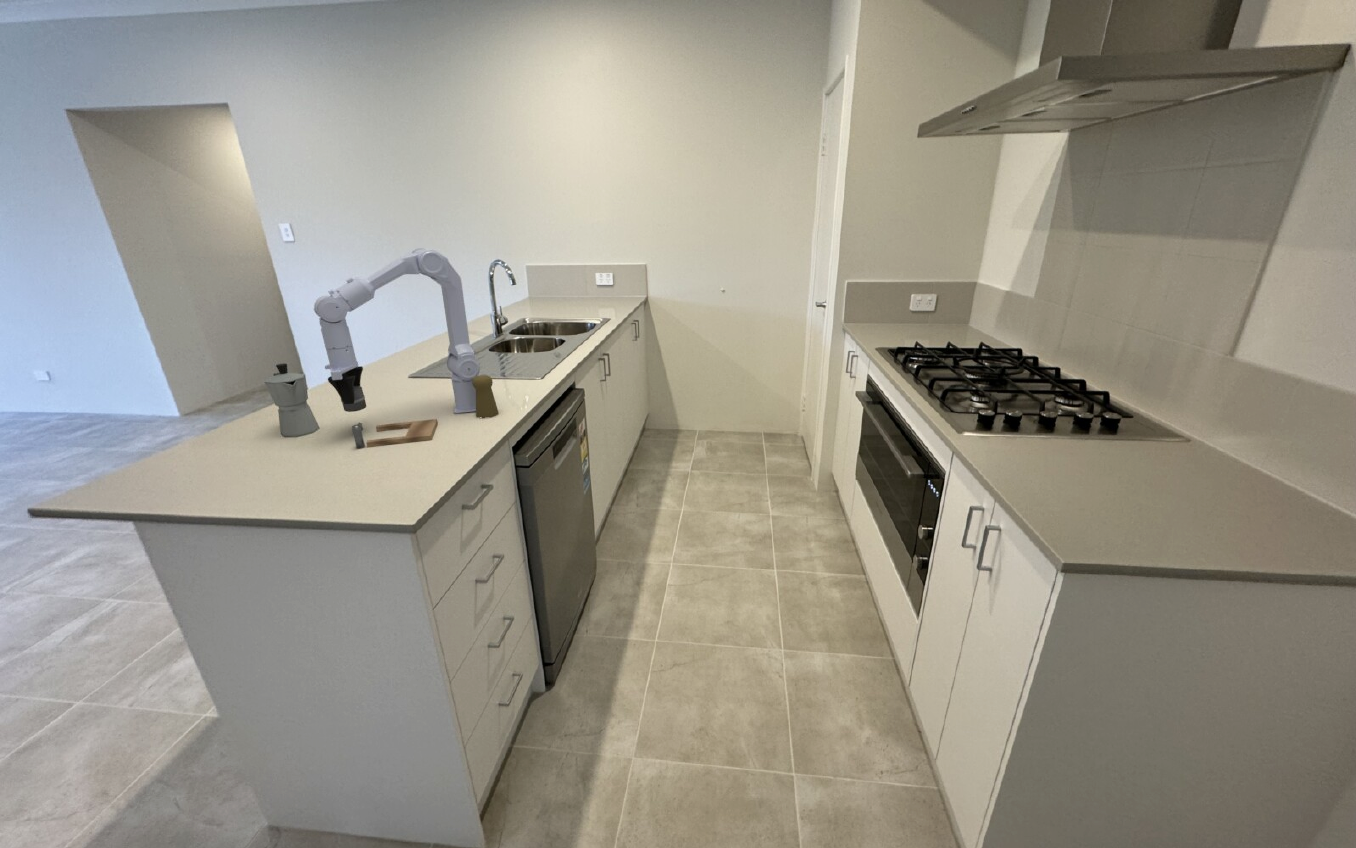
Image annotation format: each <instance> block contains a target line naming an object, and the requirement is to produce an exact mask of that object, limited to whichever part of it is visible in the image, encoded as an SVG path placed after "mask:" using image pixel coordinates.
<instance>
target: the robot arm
mask: <svg viewBox="0 0 1356 848" xmlns="http://www.w3.org/2000/svg"><path fill="white" fill-rule="evenodd" d="M420 274H421V275H424V276H427V277H428V278H430V279H431V280H433V282H436V283H437V284H438V285H439V286H440V287H441V292H442V300H443V306H444V307H443V308H444V314H445V320H446V321H445V322H446V327H447V335H448V342H449V345H448V350H447V352H448V356H447V359H446V367H447V369H448V370H449V372H451V373H452V374H451V385H452V390H453V396H454V401H455V407H454V410H453V413H454V414H463V413H470V412H471V413H473V412H476V389H475V388H474V387H473V384H472V381H473V378H474V377H476V376H480V375H479V374H480V371H481V366H480V363H479V361H478V360H477V358H476V354H475V351H474V349H473V348H472V346H471V344H470V335H469V328H468V321H467V314H466V313H467V312H466V308H465V307H466V305H465V297H464V292H463V283H462V279H461V276H460V275H459V273H458V272H457V271H456V269H455V268H454V267H453V265H452V264H451V263H450V262H449V259H448V257H447V256H445V255H443V254H442V253H441V252H438V251H437V250H434V249H425V248H421V247H420V248H416V249H413V250H412V251H411V252H408V253H405V254H403V255H401V256H399V257H397V258H396V259H394V260H393V261H391V262H390V263H388V264H387V265H385V266H383V267H382V268H381V269H379V270H377V271H376V272H374V273H373V274H371V275H369V276H368V277H366V278H362V277H354V279H353V278H352V277H349V278H347V279H346V281H345V282H346V283H344V284H343V285H341V286H340V287H338V288H336V289H334V290H333V289H330V290H328V291H327V292H328V294H329V295H328V294H327V295H321V296H319V297H317V299H316V300H315V302H314V305H313V306H314V308H313V311H314V313H315V314H316V315H317V316H318V317H319V326H320V327H321V328H320V332H321V335H322V339H323V343H324V348H325V351H326V354H327V359H328V362H329V364H326V365H325V366H324V369H325V370H330V376H329V377H328V378H327V381H328V383H329V384H330V385H331V386H332V387H333V388H334V389H335V391H336V392H337V394H338V396H339V397H340V400H341V399H342V401H343V403H344V404H353V403H354V386H361V379H362V373H363V371H364V367H363V365H362V366H359V361H357V357H356V353H355V350H354V349H355V348H354V345H353V340H352V336H351V333H350V329H349V326H348V322H347V319H346V317H347V314H348V312H350V313H351V312H353V311H354V310H356V309H358V308H359V307H361V306H363V305H364V304H366V303H367V302H370V301H371V300H373V299H374V298H375V293H376V291H377V290H379V289H380V288H383V286H385V285H388V284H389V283H391V282H393V281H395V280H397V279H398V278H400V277H402V276H404V275H420Z"/></svg>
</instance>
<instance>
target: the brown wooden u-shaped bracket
mask: <svg viewBox="0 0 1356 848" xmlns="http://www.w3.org/2000/svg"><path fill="white" fill-rule="evenodd" d="M438 423H439V422H438V419H437V418H434V419H433V418H431V419H423V420H414V421H404V422H394V423H387V424H385V423H383V424H377V425H376V426H375V428H376V432H385V431H386V430H387V431H395V429H396V430H403V428H405V429H407V432H406V434H405V435H404V436H396V437H393V436H392V437H387V438H376V439H367V441H366V442H365V443H366V444H365V445H366V447H367V448H373V447H380V446H388V445H389V446H390V445H391V446H392V445H399V444H406V443H407V444H408V443H415V442H416V443H417V442H418V443H419V442H425V441H432V440H433V438H434V434H435V432H436V429H437V427H438Z"/></svg>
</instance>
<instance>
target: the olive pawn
mask: <svg viewBox="0 0 1356 848" xmlns="http://www.w3.org/2000/svg"><path fill="white" fill-rule="evenodd" d="M493 383H494V382H493V378H492V377H491V376H490V375H488V374H487V375H486V374H481V375H479V376H476V377H474V378H473V381H472V384H473V387H474V388H475V389H476V411H475V417H476V418H478V417H482V418H481V419H486V418H485V417H490V418H494V417H496V416H498V415H499V409H498V406H497V401H496V398H495V396H494V392H493V389H492V386H493Z"/></svg>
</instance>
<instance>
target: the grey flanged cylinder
mask: <svg viewBox="0 0 1356 848" xmlns="http://www.w3.org/2000/svg"><path fill="white" fill-rule="evenodd" d="M340 402H341V403H342V407H343V411H345V412H348V413H352V412H353V413H354V412H359V411H362V410H364V409H365V408H367V403H366V397H365V395H364V391H363V387H362V386H361V385H360V386H354V403H353V404H344V403H343V401H342V399H341V398H340Z"/></svg>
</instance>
